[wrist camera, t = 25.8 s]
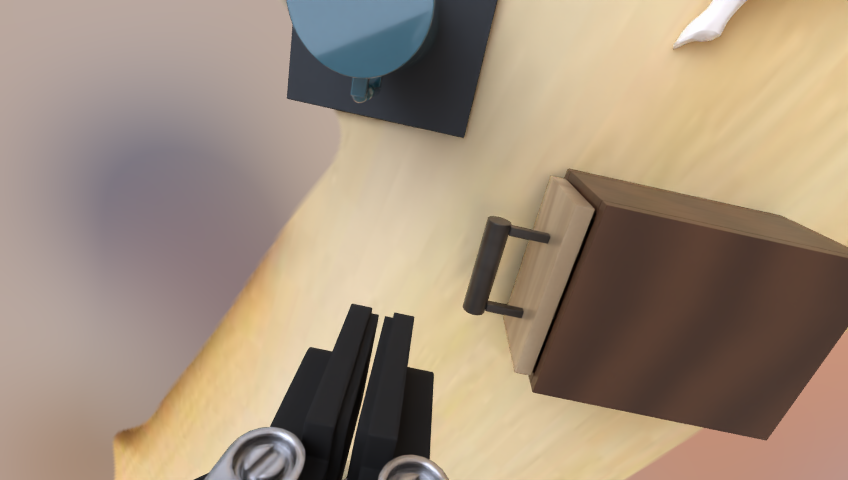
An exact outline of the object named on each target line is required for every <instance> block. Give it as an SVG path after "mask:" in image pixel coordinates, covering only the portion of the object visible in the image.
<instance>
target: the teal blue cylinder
mask: <svg viewBox="0 0 848 480" xmlns="http://www.w3.org/2000/svg"><path fill="white" fill-rule="evenodd" d="M287 6H288V11H289V15H290V18H291V21H292V24H293V26H294V29H295V31H296V33H297V35H298V37H299V38H300V40H301V42H302V43H303V45H304V46H305V47H306V48H307V50H308V51H309V52H310V53H311V54H312V55H313V56H314V57H315V58H316V59H317V60H318V61H319V62H321V63H322V64H323V65H324V66H326V67H328V68H329V69H331V70H333V71H335V72H337V73H339V74H342V75H345V76H349V77H352V85H351V92H350V94H351V96H352V98H353V100H354V101H355V102H357V103H363V102H365V101H367V100H369V99H371V98H373V97H375V96H377V95H378V94H379V93H380V91H381V86H382V79H383V75H387V74H391V73H395V72H399V71H403V70H406V69H409V68H411V67H413V66H415V65H417V64H418V63H420V62H421V61H422V60H423V59H424V58H425V57H426V56H427V55H428V54H429V52H430V51H431V50H432V48H433V46H434V44H435V42H436V39H437V37H438V33H439V28H440V9H439V4H438V0H287Z"/></svg>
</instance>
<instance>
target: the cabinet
mask: <svg viewBox="0 0 848 480" xmlns="http://www.w3.org/2000/svg"><path fill="white" fill-rule="evenodd" d="M564 179H566V180H567V181H568V182H569V183H570V184H571V185H572V186H573V187H574V188H575V189H576V190H577V191H578V192H579V193H580V194H581V195H582V196H583V197H584V198H585V199H586V200H587V201H588V202H589V203H590V204H591V206H592V207H593V208H594V209H595V211H594V212H595V213H596V214H597V215H596V217H595V220H594V222H593V225H592V228H591V230H590V233H589V235H588V238H587V240H586V243H585V245H584V248H583V251H582V253H581V256H580V258H579V261H578V263H577V266H576V268H575V271H574V274H573V276H572V279H571V281H570V284H569V286H568V289H567V291H566V294H565V297H564V299H563V302H562V304H561V307H560V309H559V312H558V314H557V317H556V320H555V322H554V325H553V327H552V330H551V332H550V335H549V337H548V340H547V343H546V344H545V341H544V342H543V345H542V347H541V350H540V353H539V355H538V358H537V360H536V363H535V366H534V368H533V371H532V373H531V375H529V379H530V383H531V388H532V392H533V393H538V394H543V395H548V396H553V397H558V398H562V399H567V400H572V401H577V402H582V403H587V404H592V405H597V406H601V407H606V408H611V409H616V410H621V411H626V412H631V413H635V414H640V415H645V416H650V417H655V418H660V419H665V420H669V421H674V422H679V423H684V424H689V425H694V426H699V427H704V428H709V429H713V430H718V431H723V432H728V433H733V434H738V435H742V436H748V437H753V438H757V439H762V440H767V439H768V437H769V436H770V435H771V434H772V432H773V431H774V429H775V428H776V426H777V425H778V424H779V422H780V421H781V420H782V418H783V417H784V415H785V414H786V413H787V411H788V410H789V408H790V407H791V406H792V404H793V403H794V401H795V400H796V399H797V397H798V396H799V394H800V393H801V392H802V390H803V389H804V387H805V386H806V385H807V383H808V382H809V380H810V379H811V378H812V376H813V375H814V374H815V372H816V371H817V369H818V368H819V366H820V365H821V364H822V362H823V361H824V359H825V358H826V357H827V355H828V354H829V353H830V351H831V350H832V348H833V347H834V346H835V344H836V343H837V341H838V340H839V339H840V337H841V336H842V334H843V333H844V332H845V330H846V329H847V327H848V247H846V246H844V245H842V244H840V243H838V242H836V241H834V240H832V239H829V238H827V237H825V236H823V235H821V234H819V233H817V232H815V231H813V230H810V229H808V228H806V227H804V226H802V225H800V224H798V223H796V222H794V221H791V220H789V219H787V218H785V217H783V216H780V215H775V214H771V213H766V212H762V211H757V210H753V209H748V208H744V207H739V206H735V205H730V204H725V203H721V202H716V201H712V200H707V199H703V198H698V197H694V196H689V195H685V194H680V193H676V192H671V191H667V190H662V189H658V188H653V187H649V186H644V185H640V184H635V183H631V182H626V181H622V180H617V179H613V178H608V177H604V176H599V175H595V174H590V173H586V172H581V171H577V170H572V169H568V170H567V172H566V175H565V178H564Z"/></svg>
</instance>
